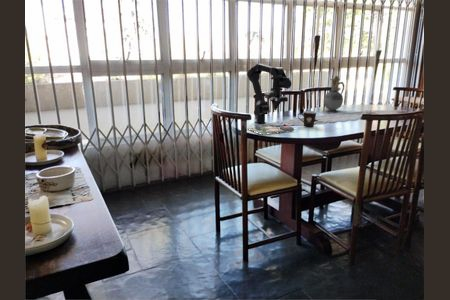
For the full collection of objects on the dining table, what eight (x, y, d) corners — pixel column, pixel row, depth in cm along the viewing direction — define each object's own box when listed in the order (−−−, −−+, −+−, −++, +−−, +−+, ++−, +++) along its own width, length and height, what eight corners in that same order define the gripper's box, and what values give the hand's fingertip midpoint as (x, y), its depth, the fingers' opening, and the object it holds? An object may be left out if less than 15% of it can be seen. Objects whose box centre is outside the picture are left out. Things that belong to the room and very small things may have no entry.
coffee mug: (317, 126, 225) (318, 112, 222) (311, 128, 219) (312, 113, 216) (302, 123, 233) (303, 109, 230) (296, 125, 226) (297, 111, 223)
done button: (281, 129, 214) (282, 126, 213) (287, 128, 216) (287, 125, 215) (286, 131, 210) (286, 128, 209) (291, 130, 212) (291, 127, 211)
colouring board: (247, 129, 214) (247, 127, 214) (270, 127, 222) (270, 125, 221) (260, 135, 201) (260, 133, 200) (284, 132, 208) (284, 130, 208)
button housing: (279, 129, 214) (280, 126, 214) (287, 128, 217) (287, 125, 217) (285, 132, 209) (285, 129, 208) (293, 130, 212) (293, 128, 211)
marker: (255, 128, 212) (255, 125, 212) (258, 128, 213) (258, 124, 213) (262, 131, 205) (262, 128, 204) (265, 131, 206) (265, 127, 205)
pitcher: (320, 110, 281) (324, 75, 272) (336, 109, 290) (340, 74, 281) (330, 113, 272) (334, 76, 263) (346, 111, 281) (350, 75, 272)
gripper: (259, 85, 219) (257, 108, 224) (274, 89, 203) (273, 113, 208) (272, 84, 224) (271, 107, 229) (289, 88, 208) (287, 112, 213)
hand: (275, 110), depth 219 cm, fingers closed
